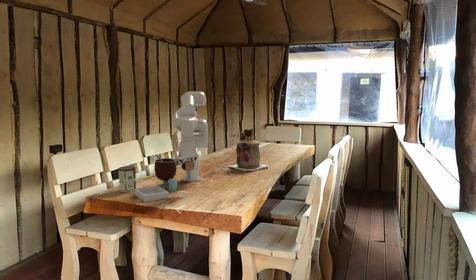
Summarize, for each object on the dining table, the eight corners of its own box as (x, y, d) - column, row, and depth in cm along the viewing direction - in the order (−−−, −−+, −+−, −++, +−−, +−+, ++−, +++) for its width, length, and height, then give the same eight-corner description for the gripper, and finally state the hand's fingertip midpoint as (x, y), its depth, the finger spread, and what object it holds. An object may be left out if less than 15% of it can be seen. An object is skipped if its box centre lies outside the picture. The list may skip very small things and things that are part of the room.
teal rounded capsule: (167, 190, 229) (167, 179, 228) (175, 188, 232) (175, 178, 231) (171, 191, 225) (170, 180, 224) (178, 190, 228) (178, 179, 227)
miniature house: (128, 186, 237) (127, 165, 235) (140, 189, 232) (139, 167, 230) (115, 190, 228) (114, 168, 226) (127, 192, 223) (126, 170, 221)
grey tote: (134, 194, 219) (134, 188, 219) (157, 191, 227) (156, 185, 227) (145, 202, 204) (144, 196, 204) (168, 198, 212) (168, 192, 212)
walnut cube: (182, 169, 224) (182, 161, 223) (189, 168, 226) (189, 160, 226) (186, 170, 220) (185, 162, 219) (193, 169, 222) (193, 161, 222)
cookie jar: (249, 163, 313) (249, 126, 308) (270, 168, 294) (270, 128, 290) (226, 167, 297) (226, 127, 293) (246, 172, 278) (246, 130, 274)
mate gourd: (181, 185, 241) (180, 155, 238) (165, 190, 229) (165, 158, 227) (164, 182, 249) (163, 152, 247) (148, 186, 238) (147, 156, 235)
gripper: (197, 137, 228) (197, 166, 231) (171, 139, 219) (172, 169, 221) (202, 138, 222) (203, 168, 225) (176, 141, 212) (177, 172, 215)
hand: (188, 168), depth 223 cm, fingers closed on walnut cube, 5 cm apart
